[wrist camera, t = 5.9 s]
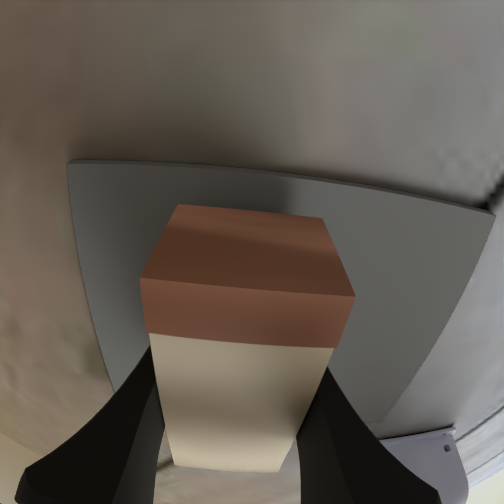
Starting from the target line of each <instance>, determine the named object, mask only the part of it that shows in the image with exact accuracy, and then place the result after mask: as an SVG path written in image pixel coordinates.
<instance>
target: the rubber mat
mask: <svg viewBox="0 0 504 504" xmlns="http://www.w3.org/2000/svg"><path fill="white" fill-rule="evenodd" d="M67 175H68V186H69V195H70V204H71V212H72V219H73V226H74V233H75V239H76V245H77V251H78V256H79V262H80V267H81V272H82V277H83V282H84V286H85V291H86V295H87V299H88V304H89V308H90V312H91V316H92V319H93V323H94V327H95V331H96V334H97V338H98V341H99V345H100V348H101V352H102V355H103V358H104V361H105V364H106V368H107V371H108V374H109V377H110V380H111V383H112V385H113V388H114V391H115V393H116V391H117V390H118V389H119V388H120V387H121V385H122V384H123V383H124V382H125V380H126V379H127V377H128V376H129V375H130V373H131V372H132V371H133V369H134V368H135V367H136V365H137V364H138V362H139V361H140V359H141V358H142V356H143V355H144V353H145V352H146V350H147V348H148V347H149V345H150V337H149V333H146V327H145V320H144V313H143V305H142V296H141V287H140V275H141V273H142V271H143V269H144V267H145V265H146V264H147V262H148V260H149V258H150V256H151V254H152V252H153V250H154V248H155V246H156V244H157V242H158V240H159V238H160V237H161V235H162V233H163V231H164V229H165V227H166V225H167V223H168V222H169V220H170V218H171V216H172V214H173V212H174V211H175V209H176V207H177V205H178V204H184V205H196V206H208V207H220V208H231V209H241V210H252V211H262V212H271V213H281V214H290V215H299V216H308V217H316V218H322V219H323V221H324V223H325V225H326V227H327V230H328V232H329V234H330V236H331V239H332V241H333V243H334V245H335V248H336V250H337V252H338V255H339V257H340V259H341V262H342V264H343V266H344V269H345V271H346V273H347V276H348V278H349V281H350V283H351V286H352V288H353V290H354V293H355V295H356V298H355V301H354V304H353V307H352V309H351V312H350V315H349V318H348V320H347V323H346V326H345V328H344V331H343V334H342V336H341V339H340V341H339V344H338V347H337V348H334V349H333V352H332V355H331V357H330V360H329V362H328V365H327V366H328V368H329V369H330V371H331V373H332V375H333V377H334V378H335V380H336V382H337V383H338V385H339V387H340V388H341V390H342V392H343V393H344V395H345V396H346V398H347V399H348V401H349V402H350V404H351V405H352V407H353V408H354V410H355V411H356V413H357V414H358V415H359V417H360V418H361V420H362V421H363V422H364V423H368V422H378V421H382V420H383V418H384V417H385V416H386V415H387V413H388V412H389V411H390V409H391V408H392V407H393V405H394V404H395V403H396V401H397V400H398V399H399V397H400V396H401V394H402V393H403V392H404V390H405V389H406V387H407V386H408V385H409V383H410V382H411V380H412V379H413V377H414V376H415V374H416V373H417V371H418V370H419V368H420V367H421V365H422V364H423V362H424V361H425V359H426V357H427V356H428V354H429V353H430V351H431V349H432V348H433V346H434V344H435V343H436V341H437V339H438V338H439V336H440V334H441V333H442V331H443V329H444V327H445V326H446V324H447V322H448V320H449V318H450V317H451V315H452V313H453V311H454V309H455V307H456V305H457V304H458V302H459V300H460V298H461V296H462V294H463V292H464V290H465V288H466V286H467V284H468V282H469V280H470V277H471V275H472V273H473V271H474V269H475V267H476V264H477V262H478V260H479V258H480V255H481V253H482V251H483V248H484V246H485V243H486V241H487V239H488V236H489V234H490V231H491V228H492V226H493V223H494V220H495V218H496V215H494V214H493V213H492V212H491V211H487V210H484V209H480V208H476V207H472V206H467V205H463V204H459V203H455V202H450V201H446V200H442V199H437V198H432V197H428V196H423V195H418V194H413V193H408V192H403V191H398V190H393V189H388V188H382V187H377V186H371V185H365V184H359V183H353V182H347V181H341V180H334V179H327V178H321V177H314V176H306V175H299V174H291V173H283V172H274V171H266V170H257V169H247V168H237V167H226V166H214V165H201V164H187V163H171V162H151V161H123V160H72V161H70V162H69V163H67Z"/></svg>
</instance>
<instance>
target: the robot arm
mask: <svg viewBox="0 0 504 504" xmlns="http://www.w3.org/2000/svg"><path fill="white" fill-rule="evenodd" d="M164 429H165V422H164V417H163V412H162V407H161V402H160V397H159V392H158V386H157V381H156V375H155V369H154V363H153V357H152V351H151V344H150V345H149V347H148V348H147V350H146V352H145V353H144V355H143V356H142V358H141V359H140V361H139V362H138V364H137V365H136V367H135V368H134V369H133V371H132V372H131V373H130V375H129V376H128V377H127V379H126V380H125V382H124V383H123V384H122V385H121V387H120V388H119V389H118V390H117V391H116V393H115V394H114V395H113V396H112V397H111V399H110V400H109V401H108V402H107V403H106V404H105V405H104V407H103V408H102V409H101V410H100V411H99V412H98V413H97V414H96V415H95V416H94V417H93V418H92V419H91V420H90V421H89V422H88V423H87V424H86V425H85V426H83V427H82V428H81V429H80V430H79V431H78V432H77V433H76V434H74V435H73V436H72V437H71V438H70V439H68V440H67V441H66V442H64V443H63V444H62V445H60V446H59V447H58V448H56V449H55V450H54V451H52V452H51V453H49V454H48V455H46V456H45V457H43V458H42V459H40V460H38V461H37V462H35V463H33V464H32V465H30V466H28V467H27V468H26V469H25V471H24V473H23V475H22V477H21V479H20V482H19V485H18V488H17V492H16V495H15V501H16V502H17V503H18V504H153V498H154V487H155V477H156V468H157V460H158V454H159V449H160V445H161V441H162V437H163V433H164ZM455 431H456V428H455V427H451V428H446V429H442V430H437V431H432V432H427V433H422V434H417V435H411V436H405V437H399V438H392V439H385V440H378V439H377V438H376V437H375V436H374V434H373V433H372V432H371V431H370V430H369V429H368V427H367V426H366V425H365V423H364V422H363V421H362V420H361V418H360V417H359V415H358V414H357V413H356V411H355V410H354V408H353V407H352V405H351V404H350V402H349V401H348V399H347V398H346V396H345V395H344V393H343V392H342V390H341V388H340V387H339V385H338V383H337V382H336V380H335V378H334V377H333V375H332V373H331V371H330V369H329V368H328V366H327V367H326V369H325V372H324V374H323V377H322V379H321V382H320V384H319V386H318V389H317V391H316V393H315V396H314V398H313V400H312V402H311V405H310V407H309V409H308V411H307V413H306V416H305V418H304V420H303V422H302V424H301V426H300V429H299V431H298V433H297V435H296V439H297V446H298V452H299V460H300V474H301V504H465V503H466V500H467V497H468V480H467V477H466V474H465V470H464V467H463V464H462V461H461V459H460V456H459V453H458V450H457V447H456V444H455V442H454V439H453V436H452V434H453V433H454V432H455ZM0 504H1V503H0Z"/></svg>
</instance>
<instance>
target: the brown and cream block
mask: <svg viewBox="0 0 504 504" xmlns="http://www.w3.org/2000/svg"><path fill="white" fill-rule="evenodd" d="M140 287H141V296H142V305H143V313H144V320H145V327H146V333H149V337H150V344H151V351H152V357H153V363H154V369H155V375H156V381H157V386H158V392H159V397H160V402H161V407H162V412H163V417H164V422H165V426H166V431H167V435H168V440H169V444H170V448H171V452H172V456H173V460H174V464H175V465H180V466H187V467H195V468H204V469H214V470H227V471H243V472H278V471H279V469H280V467H281V465H282V463H283V461H284V459H285V457H286V455H287V453H288V451H289V449H290V447H291V445H292V443H293V441H294V439H295V437H296V435H297V433H298V431H299V429H300V426H301V424H302V422H303V420H304V418H305V416H306V413H307V411H308V409H309V407H310V405H311V402H312V400H313V398H314V396H315V393H316V391H317V389H318V386H319V384H320V382H321V379H322V377H323V374H324V372H325V369H326V367H327V365H328V362H329V360H330V357H331V355H332V352H333V349H334V348H337V347H338V344H339V341H340V339H341V336H342V334H343V331H344V328H345V326H346V323H347V320H348V318H349V315H350V312H351V309H352V307H353V304H354V301H355V298H356V295H355V293H354V290H353V288H352V286H351V283H350V281H349V278H348V276H347V273H346V271H345V269H344V266H343V264H342V262H341V259H340V257H339V255H338V252H337V250H336V248H335V245H334V243H333V241H332V239H331V236H330V234H329V232H328V230H327V227H326V225H325V223H324V221H323V219H322V218H316V217H308V216H299V215H290V214H281V213H271V212H262V211H252V210H241V209H231V208H220V207H208V206H196V205H184V204H178V205H177V207H176V209H175V211H174V212H173V214H172V216H171V218H170V220H169V222H168V223H167V225H166V227H165V229H164V231H163V233H162V235H161V237H160V238H159V240H158V242H157V244H156V246H155V248H154V250H153V252H152V254H151V256H150V258H149V260H148V262H147V264H146V265H145V267H144V269H143V271H142V273H141V275H140Z"/></svg>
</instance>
